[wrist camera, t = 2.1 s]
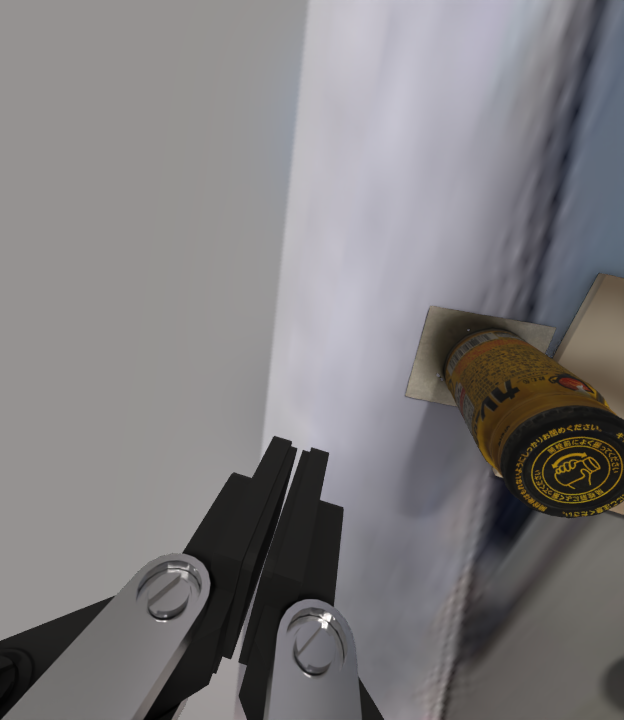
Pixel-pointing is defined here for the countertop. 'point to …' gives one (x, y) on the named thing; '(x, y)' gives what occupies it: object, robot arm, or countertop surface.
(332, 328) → the countertop surface
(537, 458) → the condiment
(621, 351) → the cutting board
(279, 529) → the robot arm
